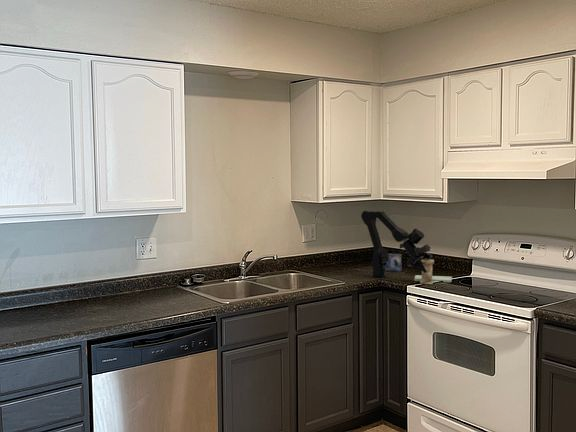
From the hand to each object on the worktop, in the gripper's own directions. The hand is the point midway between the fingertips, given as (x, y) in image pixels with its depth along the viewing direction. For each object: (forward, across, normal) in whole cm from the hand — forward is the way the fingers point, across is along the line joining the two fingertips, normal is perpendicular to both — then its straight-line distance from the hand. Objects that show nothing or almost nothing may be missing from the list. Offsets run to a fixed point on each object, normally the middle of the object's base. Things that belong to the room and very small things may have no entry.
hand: (429, 271), depth 325 cm
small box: (-22, +22, +32) cm, 45 cm away
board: (+2, +12, +8) cm, 14 cm away
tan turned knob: (+4, 0, +6) cm, 7 cm away
